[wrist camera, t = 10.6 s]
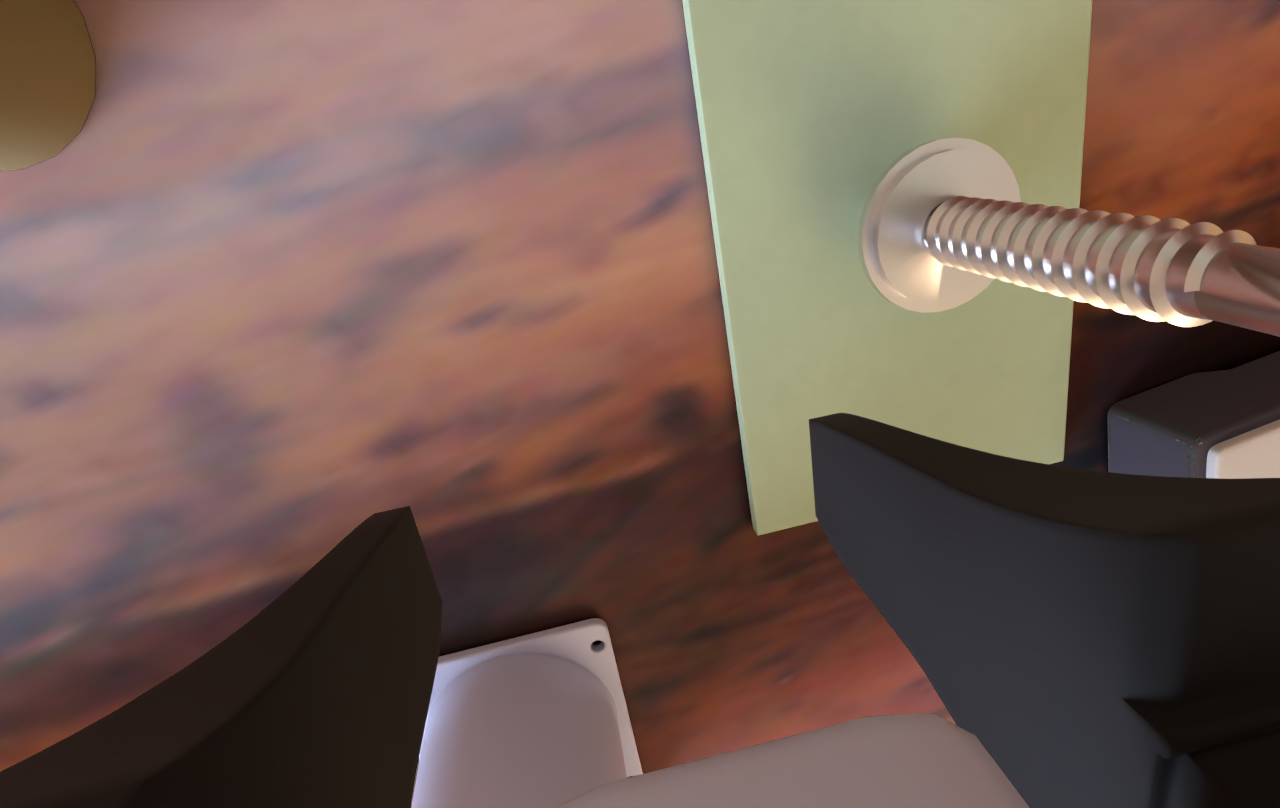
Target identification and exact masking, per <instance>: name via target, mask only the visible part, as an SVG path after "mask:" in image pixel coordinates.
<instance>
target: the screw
mask: <svg viewBox="0 0 1280 808" xmlns="http://www.w3.org/2000/svg"><path fill="white" fill-rule="evenodd" d="M857 244H858V251H859V258H860V262H861V265H862V268H863V270H864V273H865V275H866V278H867V279H868V280H869V282H870V283H871V285H872V286H873V288H874V289H875V290H876V291H877V292H878V293H879V294H880V295H881V296H883V297H884V298H885V299H886V300H887V301H889V302H891V303H893V304H895V305H897V306H900V307H902V308H904V309H906V310H911V311H916V312H921V313H928V312H941V311H944V310H948V309H952V308H955V307H957V306H959V305H961V304H963V303H965V302H967V301H969V300H971V299H973V298H974V297H975V296H977V295H978V294H979V293H981V292H982V291H983V290H985V289H986V288H987V287H988V286H989V285H990V283H991V282H992V281H993V280H994V279H995V278H997V279H999V280H1001V281H1004V282H1011V283H1014V284H1016V285H1019V286H1023V287H1030V288H1032V289H1034V290H1037V291H1042V292H1048V293H1050V294H1053V295H1055V296H1060V297H1068V298H1069V299H1071V300H1074V301H1077V302H1083V303H1087V302H1088V303H1089V304H1091V305H1093V306H1096V307H1099V308H1107V309H1110V308H1111V309H1112V310H1114V311H1116V312H1118V313H1121V314H1126V315H1136V316H1138V317H1139V318H1141V319H1144V320H1147V321H1152V322H1165V321H1167V322H1168V323H1170V324H1173V325H1175V326H1180V327H1195V326H1200V325H1204V324H1206V323H1209V322H1212V321H1213V320H1214V321H1218V322H1222V323H1226V324H1230V325H1234V326H1238V327H1242V328H1246V329H1250V330H1254V331H1258V332H1262V333H1266V334H1270V335H1274V336H1278V337H1280V248H1274V247H1266V246H1259V245H1257V244H1256V242H1255V240H1254V239H1253V237H1252V236H1251V235H1250V234H1248V233H1247V232H1244V231H1241V230H1230V231H1226V232H1223V231H1222V230H1221V229H1220V228H1219V227H1218V226H1216V225H1214V224H1212V223H1208V222H1198V223H1194V224H1191V225H1190V224H1189V223H1188V222H1186V221H1184V220H1182V219H1178V218H1168V219H1163V220H1160V219H1158V218H1157V217H1154V216H1150V215H1142V216H1137V217H1134V216H1133V215H1130V214H1128V213H1113V214H1110V213H1108V212H1106V211H1102V210H1093V211H1087V210H1085V209H1082V208H1070V209H1067V208H1065V207H1062V206H1050V207H1048V206H1046V205H1043V204H1032V205H1031V204H1028V203H1025V202H1021V197H1020V191H1019V186H1018V183H1017V181H1016V178H1015V176H1014V173H1013V171H1012V169H1011V168H1010V166H1009V165H1008V164H1007V162H1006V161H1005V160H1004V158H1003V157H1002V156H1001V155H1000V154H998V153H997V152H996V151H995V150H993V149H992V148H991V147H990V146H988V145H985V144H983V143H980V142H978V141H976V140H973V139H965V138H957V137H955V138H943V139H935V140H931V141H928V142H925V143H923V144H920V145H917V146H915V147H913V148H911V149H910V150H908V151H907V152H905V153H904V154H902V155H900V156H899V157H898V158H897V159H896V160H894V161H893V162H892V163H891V164H890V165H889V166H888V167H887V168H886V169H885V170H884V171H883V173H882V174H881V175H880V177H879V178H878V180H877V181H876V182H875V184H874V185H873V187H872V188H871V190H870V193H869V195H868V197H867V199H866V201H865V203H864V205H863V209H862V213H861V217H860V221H859V225H858V242H857Z"/></svg>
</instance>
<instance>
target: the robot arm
mask: <svg viewBox="0 0 1280 808" xmlns="http://www.w3.org/2000/svg"><path fill="white" fill-rule="evenodd" d="M809 431H810V445H811V459H812V472H813V486H814V500H815V514H816V517H817V519H818V521H819V523H820V525H821V527H822V529H823V531H824V532H825V534H826V536H827V538H828V540H829V542H830V543H831V545H832V547H833V549H834V550H835V552H836V554H837V556H838V557H839V559H840V560H841V562H842V563H843V564H844V566H845V567H846V568H847V570H848V571H849V572H850V574H851V575H852V576H853V578H854V579H855V580H856V582H857V583H858V584H859V586H860V587H861V588H862V590H863V591H864V592H865V594H866V595H867V596H868V597H869V599H870V600H871V601H872V603H873V604H874V605H875V606H876V608H877V609H878V610H879V612H880V613H881V614H882V616H883V617H884V618H885V619H886V621H887V622H888V623H889V625H890V626H891V627H892V629H893V630H894V631H895V632H896V634H897V635H898V636H899V638H900V639H901V640H902V642H903V643H904V644H905V645H906V647H907V648H908V649H909V651H910V652H911V654H912V655H913V656H914V658H915V659H916V661H917V662H918V664H919V665H920V666H921V668H922V669H923V671H924V672H925V674H926V675H927V677H928V679H929V680H930V682H931V684H932V685H933V687H934V689H935V690H936V692H937V693H938V695H939V697H940V698H941V700H942V702H943V703H944V705H945V707H946V708H947V710H948V712H949V713H950V715H951V716H952V718H953V720H954V721H955V723H956V725H957V726H956V725H954V724H953V723H951V722H949V721H947V720H945V719H943V718H941V717H939V716H937V715H936V714H923V713H921V714H900V715H880V716H867V717H863V718H859V719H855V720H851V721H848V722H844V723H840V724H836V725H832V726H828V727H824V728H820V729H816V730H812V731H809V732H805V733H801V734H797V735H793V736H789V737H785V738H781V739H777V740H774V741H770V742H766V743H762V744H758V745H754V746H750V747H746V748H742V749H738V750H735V751H731V752H727V753H723V754H719V755H715V756H711V757H707V758H703V759H699V760H696V761H692V762H688V763H684V764H680V765H676V766H672V767H668V768H664V769H660V770H657V771H653V772H649V773H645V774H643V771H642V767H641V763H640V759H639V755H638V751H637V747H636V743H635V738H634V734H633V730H632V726H631V722H630V718H629V714H628V710H627V705H626V701H625V697H624V693H623V689H622V685H621V681H620V677H619V672H618V668H617V664H616V660H615V656H614V652H613V648H612V644H611V639H610V635H609V631H608V627H607V625H606V623H605V622H604V621H603V620H602V619H598V618H592V619H588V620H584V621H580V622H576V623H572V624H568V625H564V626H560V627H556V628H552V629H548V630H544V631H540V632H536V633H532V634H528V635H524V636H520V637H516V638H512V639H508V640H504V641H500V642H496V643H492V644H488V645H484V646H480V647H476V648H472V649H468V650H464V651H460V652H456V653H452V654H448V655H444V656H440V657H439V652H440V637H441V616H442V600H441V597H440V594H439V591H438V588H437V585H436V582H435V579H434V576H433V573H432V570H431V567H430V565H429V562H428V559H427V556H426V553H425V550H424V547H423V544H422V541H421V538H420V535H419V532H418V529H417V526H416V523H415V520H414V517H413V514H412V511H411V508H410V506H408V507H403V508H398V509H394V510H389V511H385V512H380V513H375V514H373V515H372V516H370V517H369V518H368V519H366V520H365V521H364V522H362V523H361V524H360V525H359V526H358V527H357V528H355V529H354V530H353V531H352V532H351V533H350V534H349V535H348V536H346V537H345V538H344V539H343V540H342V541H341V542H340V543H339V544H338V545H337V546H336V547H334V548H333V549H332V550H331V551H330V552H329V553H328V554H327V555H326V556H325V557H324V558H322V559H321V560H320V561H319V562H318V563H317V564H316V565H315V566H314V567H313V568H311V569H310V570H309V571H308V572H307V573H306V574H305V575H304V576H303V577H302V578H300V579H299V580H298V581H297V582H296V583H295V584H293V585H292V586H291V587H290V588H289V589H287V590H286V591H285V592H284V593H283V594H281V595H280V596H279V597H278V598H277V599H276V600H274V601H273V602H272V603H271V604H270V605H268V606H267V607H266V608H265V609H264V610H262V611H261V612H260V613H259V614H258V615H257V616H255V617H254V618H253V619H252V620H250V621H249V622H248V623H247V624H245V625H244V626H243V627H241V628H240V629H239V630H237V631H236V632H235V633H233V634H232V635H231V636H229V637H228V638H227V639H225V640H224V641H223V642H221V643H220V644H218V645H217V646H216V647H214V648H213V649H211V650H210V651H208V652H207V653H206V654H204V655H203V656H201V657H200V658H199V659H197V660H196V661H194V662H193V663H191V664H190V665H188V666H187V667H185V668H184V669H182V670H181V671H179V672H178V673H176V674H174V675H173V676H171V677H169V678H168V679H166V680H165V681H163V682H161V683H160V684H158V685H157V686H155V687H153V688H152V689H150V690H149V691H147V692H145V693H144V694H142V695H140V696H139V697H137V698H136V699H134V700H132V701H131V702H129V703H128V704H126V705H124V706H123V707H121V708H120V709H118V710H116V711H114V712H113V713H111V714H109V715H107V716H106V717H104V718H102V719H100V720H98V721H97V722H95V723H93V724H91V725H89V726H88V727H86V728H84V729H82V730H80V731H79V732H77V733H75V734H73V735H71V736H69V737H67V738H66V739H64V740H62V741H60V742H58V743H56V744H54V745H52V746H50V747H48V748H46V749H45V750H43V751H41V752H39V753H37V754H35V755H33V756H31V757H29V758H27V759H25V760H23V761H21V762H19V763H17V764H15V765H13V766H11V767H9V768H7V769H5V770H3V771H1V772H0V808H411V799H412V793H413V786H414V780H415V774H416V768H417V763H418V759H420V762H419V767H418V773H417V779H416V785H415V790H414V796H413V802H412V808H1280V478H1245V479H1218V478H1187V477H1163V476H1147V475H1132V474H1122V473H1112V472H1102V471H1092V470H1083V469H1076V468H1068V467H1061V466H1054V465H1049V464H1043V463H1037V462H1031V461H1026V460H1020V459H1014V458H1010V457H1005V456H1000V455H996V454H991V453H987V452H983V451H979V450H975V449H971V448H967V447H963V446H959V445H955V444H952V443H948V442H945V441H941V440H938V439H934V438H931V437H927V436H924V435H921V434H917V433H914V432H911V431H908V430H904V429H901V428H898V427H895V426H891V425H888V424H885V423H882V422H878V421H875V420H872V419H868V418H864V417H861V416H857V415H853V414H848V413H836V414H831V415H827V416H822V417H818V418H813V419H809ZM596 640H600V641H602V643H600V644H598V645H594V644H592V643H593V642H594V641H596ZM629 776H633V777H629Z"/></svg>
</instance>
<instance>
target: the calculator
mask: <svg viewBox="0 0 1280 808" xmlns="http://www.w3.org/2000/svg"><path fill="white" fill-rule="evenodd" d="M1107 425H1108V470H1109V472H1112V473H1122V474H1132V475H1147V476H1163V477H1187V478H1218V479H1245V478H1280V351H1278V352H1275V353H1273V354H1270V355H1267V356H1265V357H1262V358H1259V359H1257V360H1254V361H1252V362H1249V363H1246V364H1244V365H1241V366H1238V367H1236V368H1233V369H1230V370H1221V371H1211V372H1201V373H1193V374H1190V375H1187V376H1184V377H1182V378H1179V379H1177V380H1174V381H1171V382H1169V383H1166V384H1163V385H1161V386H1158V387H1155V388H1153V389H1150V390H1147V391H1145V392H1142V393H1140V394H1137V395H1134V396H1132V397H1129V398H1126V399H1124V400H1121V401H1119V402H1117V403H1115V404H1113V405H1112V406H1111V407H1110V409H1109V411H1108V416H1107Z"/></svg>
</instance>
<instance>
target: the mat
mask: <svg viewBox="0 0 1280 808" xmlns="http://www.w3.org/2000/svg"><path fill="white" fill-rule="evenodd" d="M682 2H683V10H684V17H685V25H686V32H687V40H688V47H689V55H690V62H691V70H692V77H693V85H694V92H695V99H696V107H697V114H698V122H699V129H700V137H701V144H702V152H703V159H704V167H705V174H706V182H707V189H708V197H709V204H710V212H711V219H712V227H713V234H714V242H715V249H716V256H717V264H718V271H719V279H720V286H721V294H722V301H723V309H724V316H725V324H726V331H727V339H728V346H729V354H730V361H731V369H732V376H733V384H734V391H735V399H736V406H737V413H738V421H739V428H740V436H741V443H742V451H743V458H744V466H745V473H746V481H747V488H748V496H749V503H750V511H751V518H752V526H753V529H754V530H755V532H756V534H757V535H762V534H766V533H770V532H774V531H779V530H783V529H787V528H791V527H795V526H799V525H803V524H807V523H811V522H815V521H818V519H817V517H816V514H815V500H814V486H813V472H812V459H811V445H810V431H809V419H813V418H818V417H822V416H827V415H831V414H836V413H848V414H853V415H857V416H861V417H864V418H868V419H872V420H875V421H878V422H882V423H885V424H888V425H891V426H895V427H898V428H901V429H904V430H908V431H911V432H914V433H917V434H921V435H924V436H927V437H931V438H934V439H938V440H941V441H945V442H948V443H952V444H955V445H959V446H963V447H967V448H971V449H975V450H979V451H983V452H987V453H991V454H996V455H1000V456H1005V457H1010V458H1014V459H1020V460H1026V461H1031V462H1037V463H1043V464H1052V463H1056V462H1060V461H1063V460H1064V446H1065V430H1066V414H1067V398H1068V382H1069V366H1070V350H1071V334H1072V318H1073V302H1074V300H1071V299H1069V298H1068V297H1060V296H1055V295H1053V294H1050V293H1048V292H1042V291H1037V290H1034V289H1032V288H1030V287H1023V286H1019V285H1016V284H1014V283H1011V282H1004V281H1001V280H999V279H997V278H995V279H994V280H993V281H992V282H991V283H990V285H989V286H988V287H987V288H986V289H985V290H983V291H982V292H981V293H979V294H978V295H977V296H975V297H974V298H973V299H971V300H969V301H967V302H965V303H963V304H961V305H959V306H957V307H955V308H952V309H948V310H944V311H941V312H928V313H921V312H916V311H911V310H906V309H904V308H902V307H900V306H897V305H895V304H893V303H891V302H889V301H887V300H886V299H885V298H884V297H883V296H881V295H880V294H879V293H878V292H877V291H876V290H875V289H874V288H873V286H872V285H871V283H870V282H869V280H868V279H867V278H866V275H865V273H864V270H863V268H862V265H861V262H860V258H859V251H858V244H857V242H858V225H859V221H860V217H861V213H862V209H863V205H864V203H865V201H866V199H867V197H868V195H869V193H870V190H871V188H872V187H873V185H874V184H875V182H876V181H877V180H878V178H879V177H880V175H881V174H882V173H883V171H884V170H885V169H886V168H887V167H888V166H889V165H890V164H891V163H892V162H893V161H894V160H896V159H897V158H898V157H899V156H900V155H902V154H904V153H905V152H907V151H908V150H910V149H911V148H913V147H915V146H917V145H920V144H923V143H925V142H928V141H931V140H935V139H943V138H955V137H957V138H965V139H973V140H976V141H978V142H980V143H983V144H985V145H988V146H990V147H991V148H992V149H993V150H995V151H996V152H997V153H998V154H1000V155H1001V156H1002V157H1003V158H1004V160H1005V161H1006V162H1007V164H1008V165H1009V166H1010V168H1011V169H1012V171H1013V173H1014V176H1015V178H1016V181H1017V183H1018V186H1019V191H1020V197H1021V202H1025V203H1028V204H1031V205H1032V204H1043V205H1046V206H1048V207H1050V206H1062V207H1065V208H1067V209H1070V208H1079V207H1080V191H1081V175H1082V159H1083V143H1084V128H1085V112H1086V96H1087V80H1088V64H1089V48H1090V32H1091V16H1092V0H682Z"/></svg>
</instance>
